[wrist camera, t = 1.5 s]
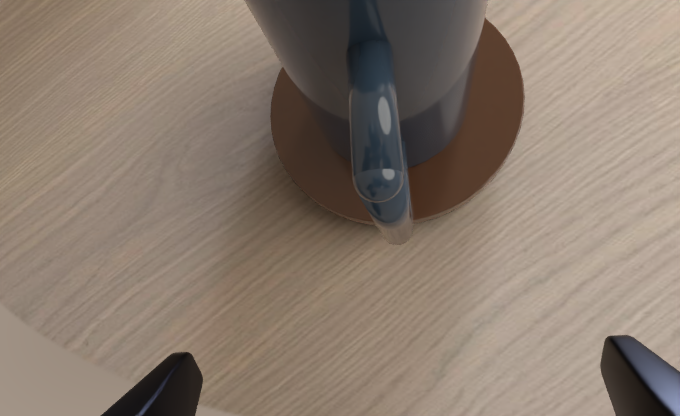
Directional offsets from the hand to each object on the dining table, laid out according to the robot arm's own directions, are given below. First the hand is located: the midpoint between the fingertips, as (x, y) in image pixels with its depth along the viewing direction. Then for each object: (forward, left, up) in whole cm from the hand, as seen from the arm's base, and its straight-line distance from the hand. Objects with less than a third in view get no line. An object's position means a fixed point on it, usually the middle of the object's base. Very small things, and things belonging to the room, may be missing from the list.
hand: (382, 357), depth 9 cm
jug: (+12, -1, -12) cm, 17 cm away
